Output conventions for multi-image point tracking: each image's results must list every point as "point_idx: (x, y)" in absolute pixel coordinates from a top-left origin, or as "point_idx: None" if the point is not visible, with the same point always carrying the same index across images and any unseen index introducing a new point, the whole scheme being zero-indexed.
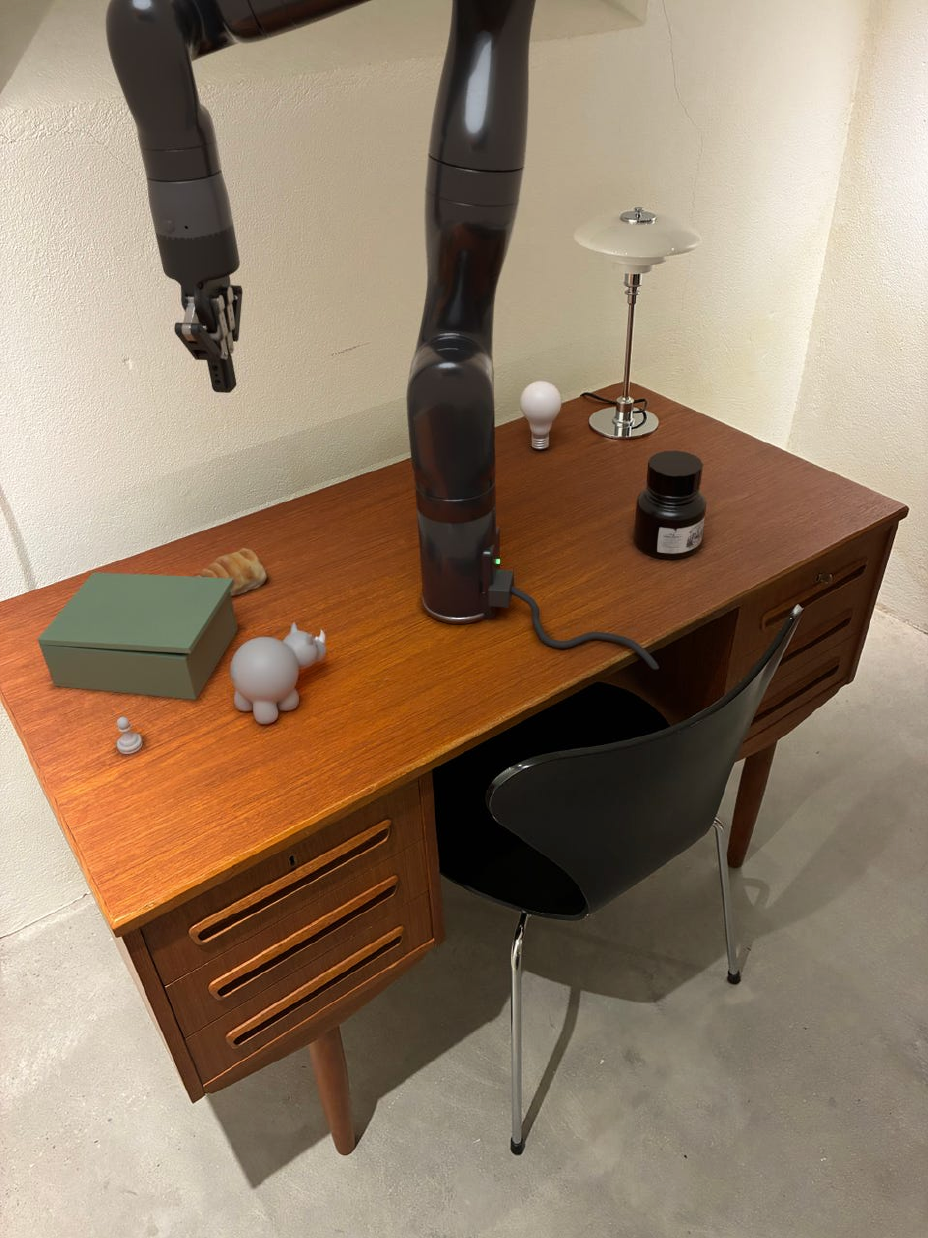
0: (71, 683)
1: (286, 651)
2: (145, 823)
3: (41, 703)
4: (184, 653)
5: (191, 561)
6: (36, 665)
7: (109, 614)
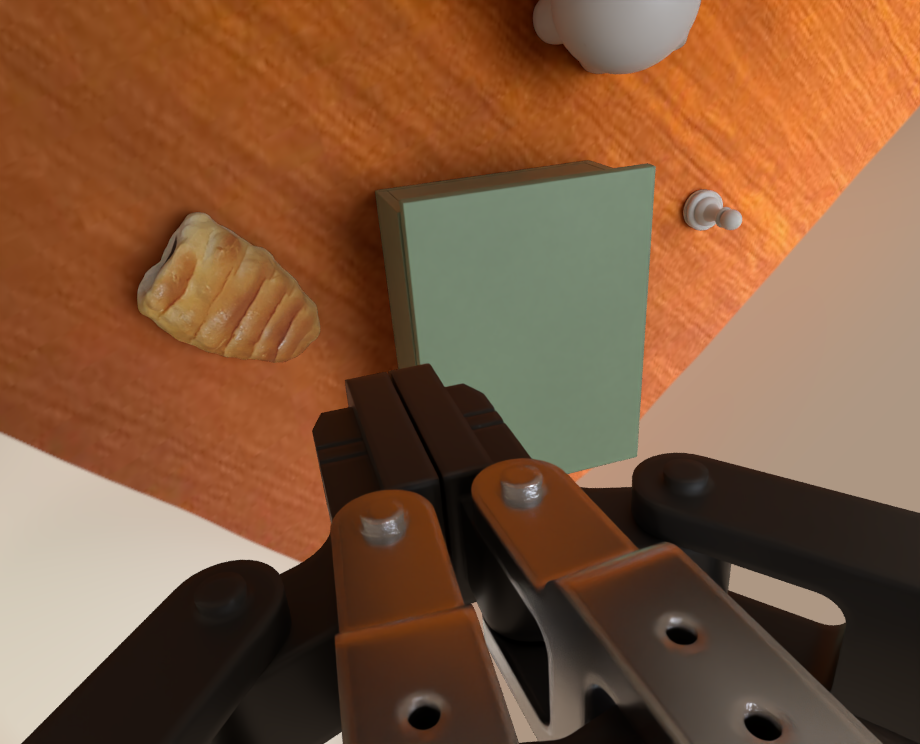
0: None
1: None
2: (838, 91)
3: None
4: None
5: (178, 420)
6: None
7: (563, 387)
